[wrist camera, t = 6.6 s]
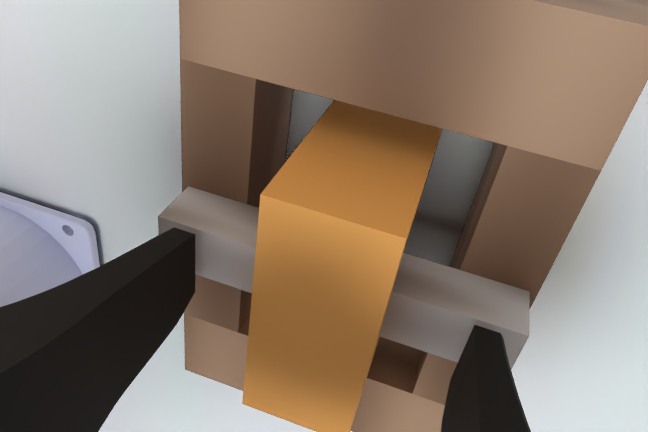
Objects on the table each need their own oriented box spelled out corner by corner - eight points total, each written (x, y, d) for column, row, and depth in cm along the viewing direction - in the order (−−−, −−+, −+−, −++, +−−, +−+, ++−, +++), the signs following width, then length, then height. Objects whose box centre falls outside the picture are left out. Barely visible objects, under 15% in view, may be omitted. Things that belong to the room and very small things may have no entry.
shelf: (221, 314, 23) (162, 403, 19) (238, -92, 14) (134, -69, 10) (457, 397, 21) (442, 511, 18) (646, -5, 12) (692, 58, 9)
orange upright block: (307, 278, 19) (242, 403, 15) (338, 95, 15) (260, 194, 11) (389, 305, 19) (346, 442, 15) (443, 123, 15) (406, 238, 10)
